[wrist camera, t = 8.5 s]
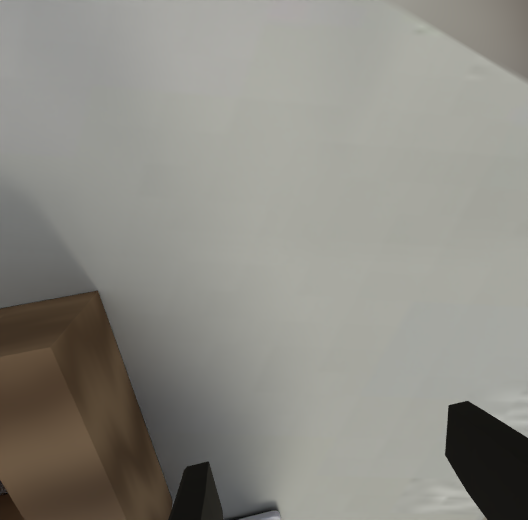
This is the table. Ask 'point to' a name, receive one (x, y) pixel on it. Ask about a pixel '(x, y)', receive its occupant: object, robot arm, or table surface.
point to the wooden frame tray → (72, 419)
